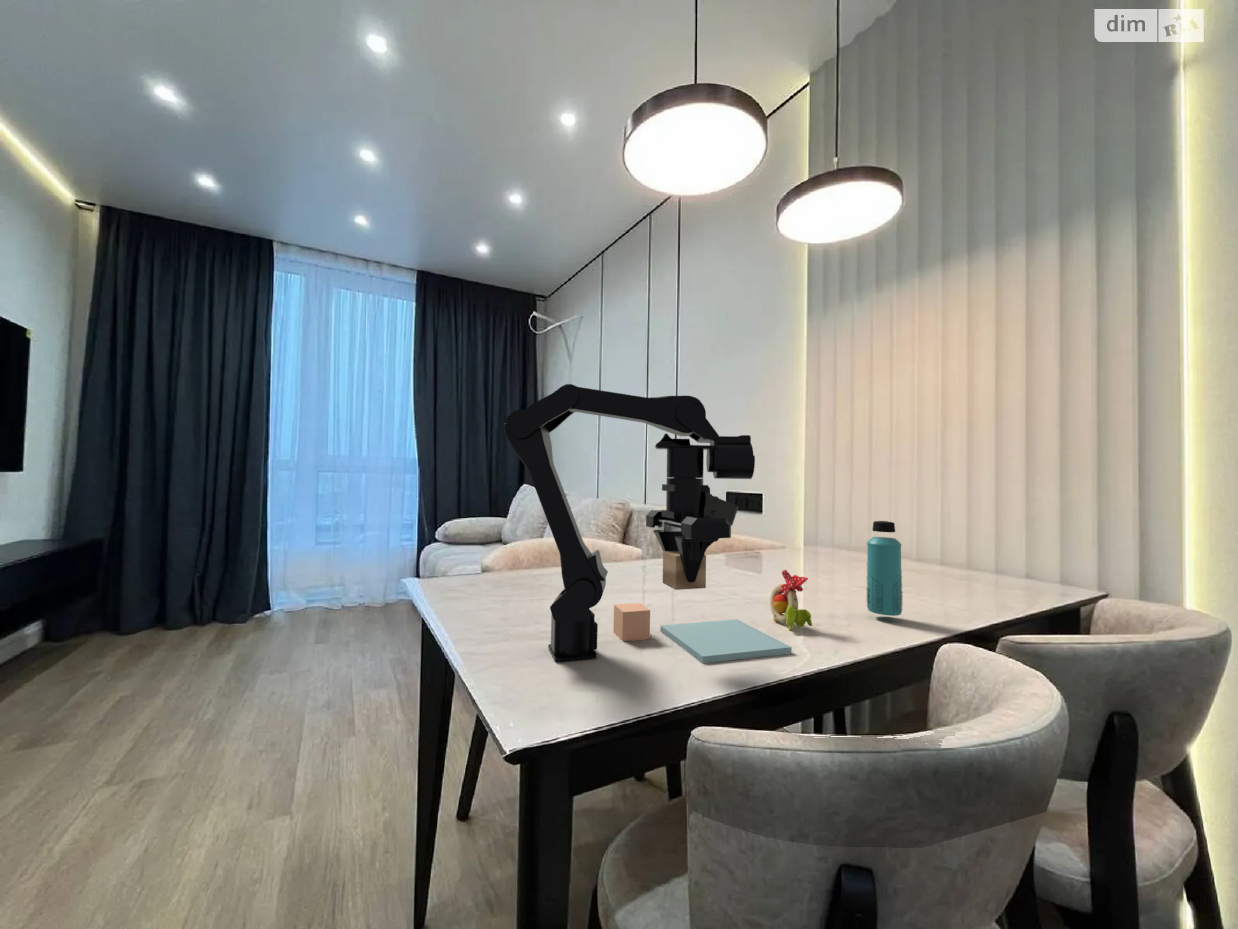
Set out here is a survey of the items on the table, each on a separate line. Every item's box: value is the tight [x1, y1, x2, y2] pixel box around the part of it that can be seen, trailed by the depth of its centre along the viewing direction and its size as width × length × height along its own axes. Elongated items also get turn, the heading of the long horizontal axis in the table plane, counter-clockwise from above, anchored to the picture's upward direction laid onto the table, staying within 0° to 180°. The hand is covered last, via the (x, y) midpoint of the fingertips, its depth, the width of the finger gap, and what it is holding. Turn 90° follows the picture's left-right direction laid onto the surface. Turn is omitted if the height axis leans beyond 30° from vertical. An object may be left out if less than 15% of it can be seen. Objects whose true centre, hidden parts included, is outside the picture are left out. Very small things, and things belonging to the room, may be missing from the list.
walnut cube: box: [662, 550, 707, 591], centre depth 75 cm, size 5×5×5 cm
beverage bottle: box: [865, 520, 904, 617], centre depth 100 cm, size 6×7×20 cm
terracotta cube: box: [612, 602, 651, 642], centre depth 85 cm, size 5×5×5 cm
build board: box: [659, 618, 792, 664], centre depth 83 cm, size 16×16×1 cm
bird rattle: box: [769, 569, 813, 631], centre depth 94 cm, size 6×11×9 cm
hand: (683, 578), depth 75 cm, fingers closed on walnut cube, 5 cm apart
